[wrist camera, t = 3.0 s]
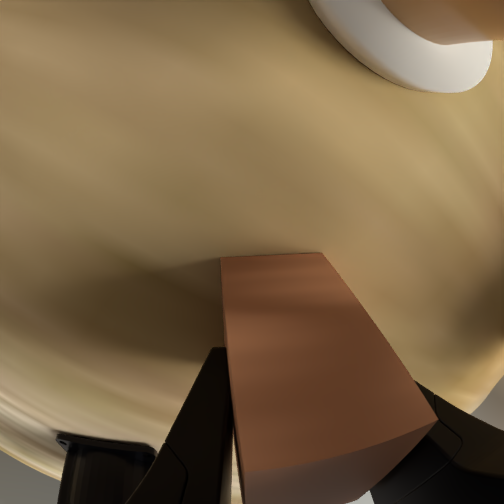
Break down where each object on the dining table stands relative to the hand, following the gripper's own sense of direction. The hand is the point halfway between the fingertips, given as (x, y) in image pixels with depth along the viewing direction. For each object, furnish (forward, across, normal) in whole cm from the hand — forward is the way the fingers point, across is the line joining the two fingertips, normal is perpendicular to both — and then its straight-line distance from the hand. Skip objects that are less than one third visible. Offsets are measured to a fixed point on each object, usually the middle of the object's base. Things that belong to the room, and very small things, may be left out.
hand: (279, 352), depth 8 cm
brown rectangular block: (+2, 0, 0) cm, 2 cm away
